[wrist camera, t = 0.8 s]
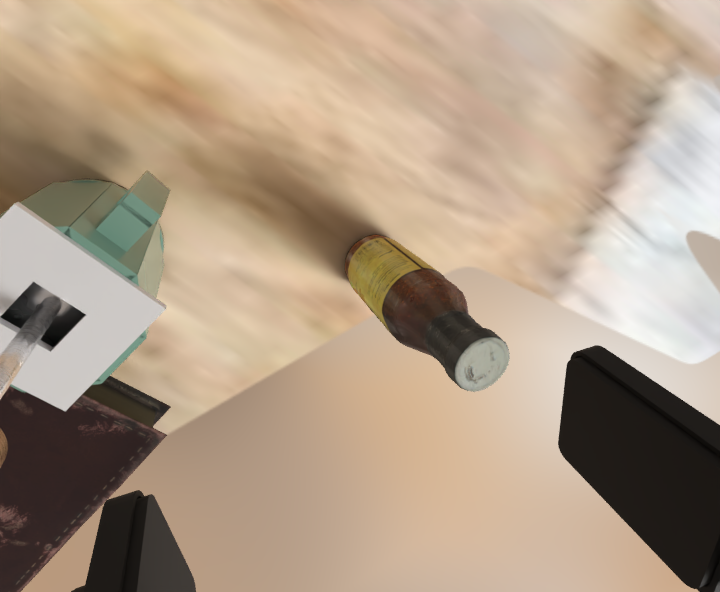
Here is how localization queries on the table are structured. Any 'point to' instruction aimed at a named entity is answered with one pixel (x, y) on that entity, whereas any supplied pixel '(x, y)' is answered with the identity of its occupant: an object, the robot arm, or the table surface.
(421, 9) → the table surface
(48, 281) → the press carafe
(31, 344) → the plunger
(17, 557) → the diary
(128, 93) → the table surface
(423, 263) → the sauce bottle
